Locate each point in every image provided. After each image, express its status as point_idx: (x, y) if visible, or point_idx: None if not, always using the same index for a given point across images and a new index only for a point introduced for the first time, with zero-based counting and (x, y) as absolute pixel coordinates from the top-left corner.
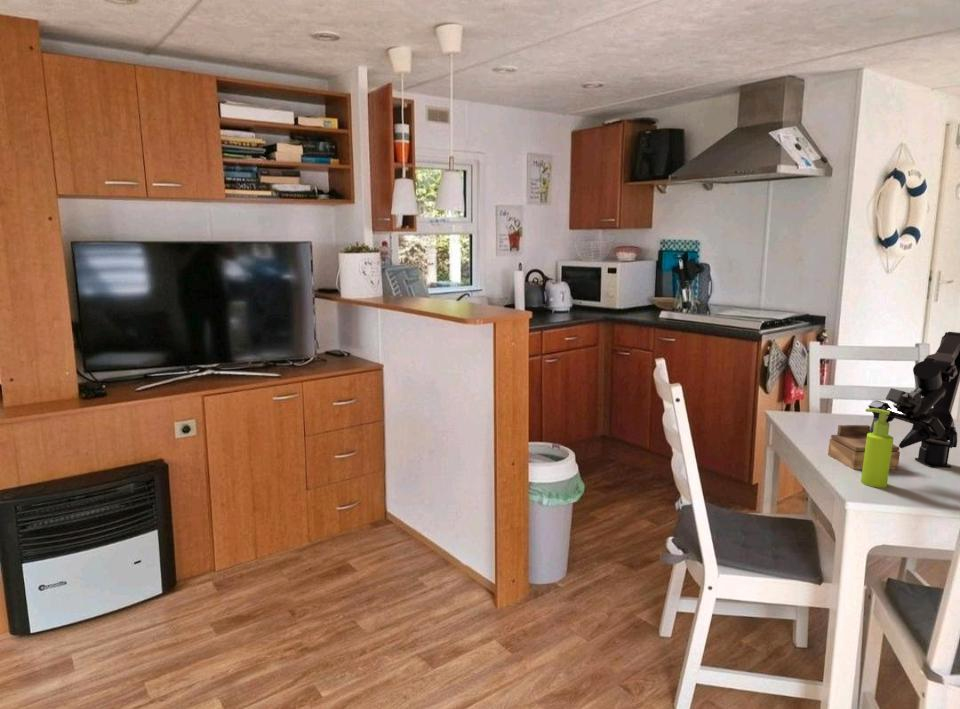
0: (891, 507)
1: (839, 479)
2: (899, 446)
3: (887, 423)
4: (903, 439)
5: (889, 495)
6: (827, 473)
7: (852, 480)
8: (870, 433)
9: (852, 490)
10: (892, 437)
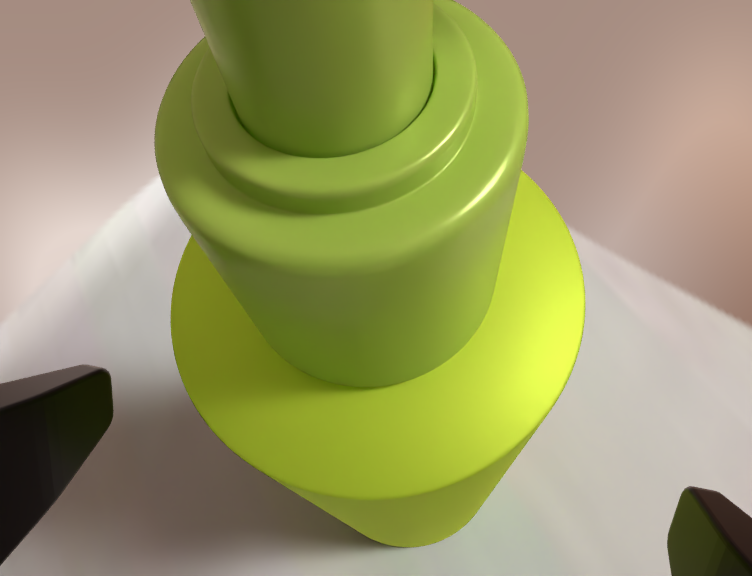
0: (148, 189)
1: None
2: (102, 375)
3: (216, 172)
4: (1, 402)
5: None
6: (685, 327)
7: None
8: (514, 215)
9: None
10: (201, 387)
